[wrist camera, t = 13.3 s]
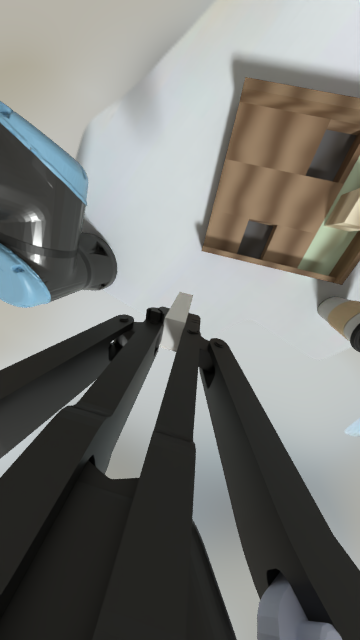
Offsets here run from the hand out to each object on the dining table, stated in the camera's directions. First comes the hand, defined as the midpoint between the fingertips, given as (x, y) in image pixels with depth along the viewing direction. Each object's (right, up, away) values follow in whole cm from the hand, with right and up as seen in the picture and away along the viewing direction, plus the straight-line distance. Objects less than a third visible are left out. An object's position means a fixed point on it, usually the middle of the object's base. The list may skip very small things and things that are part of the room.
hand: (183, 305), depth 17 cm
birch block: (+32, +19, +12) cm, 39 cm away
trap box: (+22, +22, +15) cm, 35 cm away
